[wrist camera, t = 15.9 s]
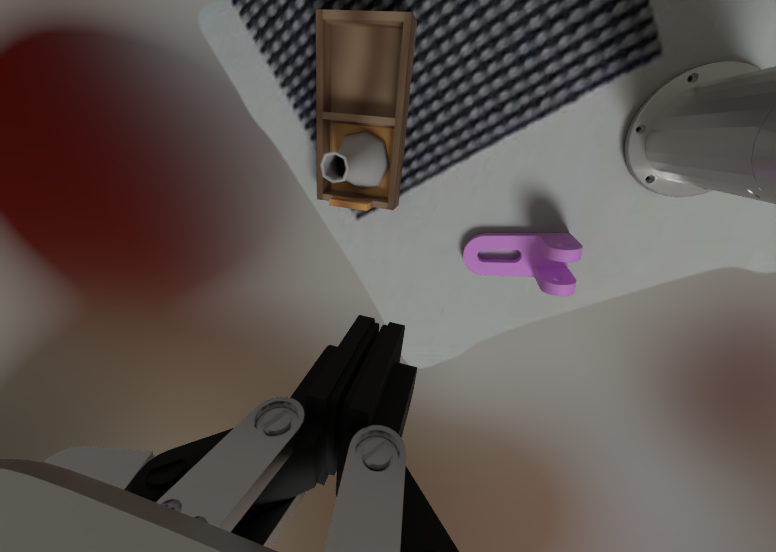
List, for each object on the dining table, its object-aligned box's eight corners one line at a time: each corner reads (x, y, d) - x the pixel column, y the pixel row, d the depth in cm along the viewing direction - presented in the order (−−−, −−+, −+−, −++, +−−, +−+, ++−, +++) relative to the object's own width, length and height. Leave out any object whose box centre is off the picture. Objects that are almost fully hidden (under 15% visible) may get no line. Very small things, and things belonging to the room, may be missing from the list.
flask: (339, 126, 41) (302, 123, 32) (394, 135, 40) (371, 134, 31) (335, 183, 44) (301, 195, 35) (386, 193, 43) (363, 208, 34)
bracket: (569, 232, 40) (587, 250, 34) (562, 273, 42) (578, 296, 36) (463, 232, 43) (462, 249, 37) (462, 270, 46) (461, 291, 39)
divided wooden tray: (416, 22, 35) (407, 3, 30) (398, 205, 44) (388, 214, 39) (327, 19, 37) (305, 0, 32) (326, 195, 46) (308, 202, 41)
